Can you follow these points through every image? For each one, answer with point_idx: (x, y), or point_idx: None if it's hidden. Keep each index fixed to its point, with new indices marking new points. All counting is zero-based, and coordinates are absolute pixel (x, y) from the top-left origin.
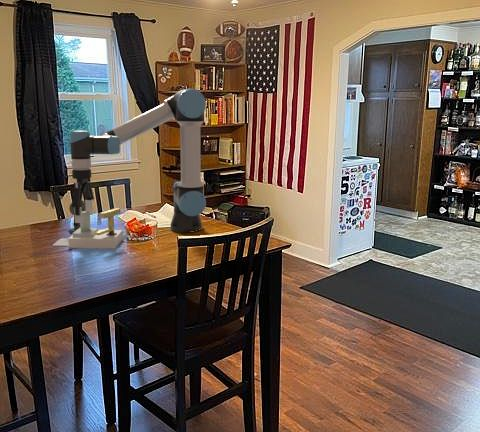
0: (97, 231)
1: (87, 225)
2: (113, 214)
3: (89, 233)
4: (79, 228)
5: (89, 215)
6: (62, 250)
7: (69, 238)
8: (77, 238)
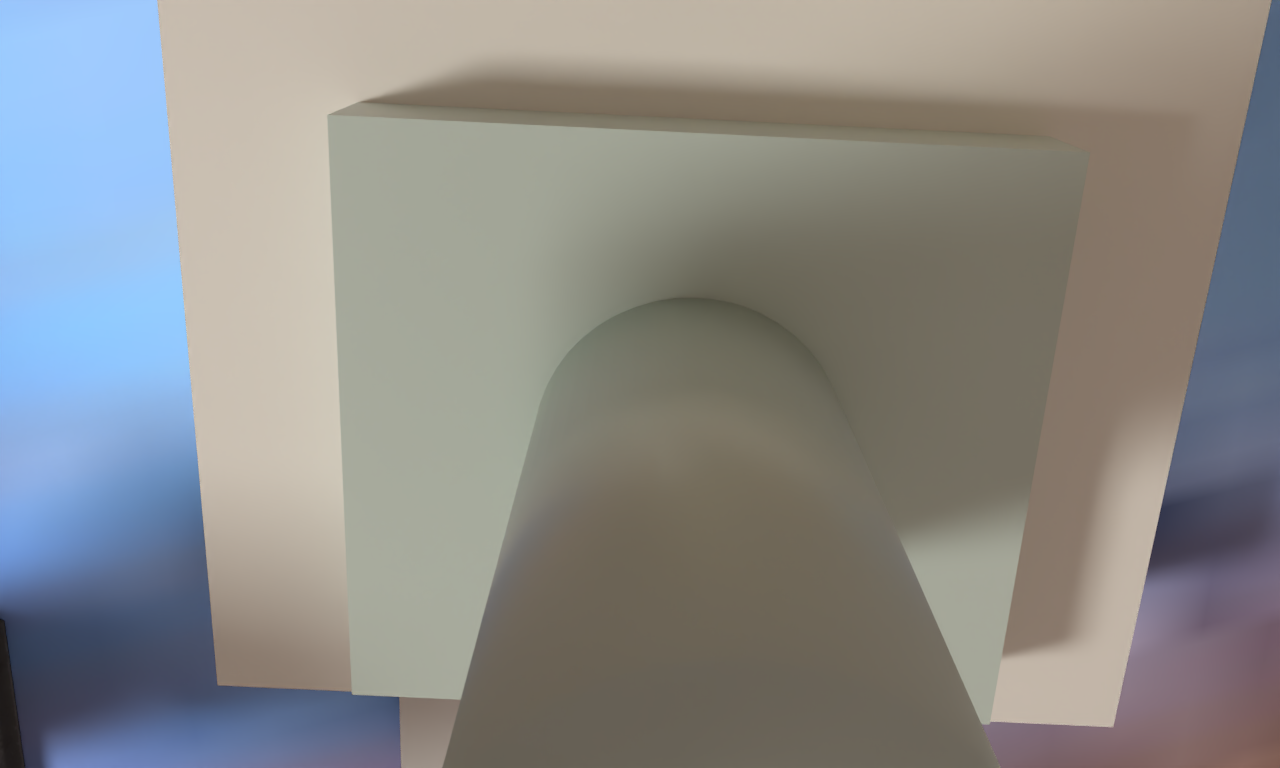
0: (451, 107)
1: (842, 425)
2: None
3: (1055, 234)
4: (462, 676)
5: (705, 545)
6: (1201, 666)
7: (1114, 699)
8: (1140, 510)
